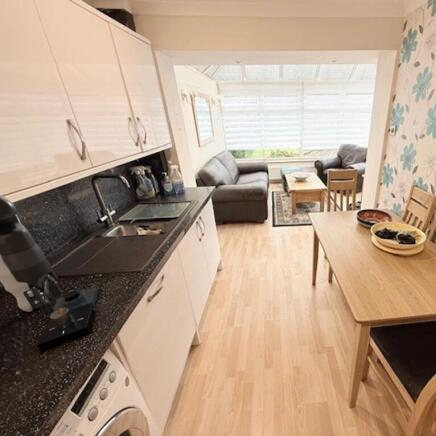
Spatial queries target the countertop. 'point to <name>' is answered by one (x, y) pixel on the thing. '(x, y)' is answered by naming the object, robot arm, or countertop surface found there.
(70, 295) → the button
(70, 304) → the button box
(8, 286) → the water bottle
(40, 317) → the countertop surface
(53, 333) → the dial panel
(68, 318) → the knob
